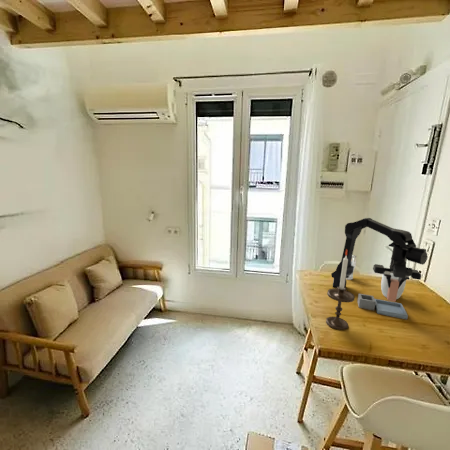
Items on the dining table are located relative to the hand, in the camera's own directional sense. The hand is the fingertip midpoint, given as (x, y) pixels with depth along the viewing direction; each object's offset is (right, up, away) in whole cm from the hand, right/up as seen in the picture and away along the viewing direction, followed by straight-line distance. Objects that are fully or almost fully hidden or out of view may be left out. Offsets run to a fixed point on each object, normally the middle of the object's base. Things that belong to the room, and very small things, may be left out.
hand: (393, 288), depth 128 cm
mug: (+11, -9, +18) cm, 23 cm away
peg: (0, -6, +1) cm, 6 cm away
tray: (0, -12, +2) cm, 12 cm away
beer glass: (-2, -4, +42) cm, 42 cm away
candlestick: (-32, -14, -10) cm, 36 cm away
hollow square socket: (-10, -11, +6) cm, 16 cm away
